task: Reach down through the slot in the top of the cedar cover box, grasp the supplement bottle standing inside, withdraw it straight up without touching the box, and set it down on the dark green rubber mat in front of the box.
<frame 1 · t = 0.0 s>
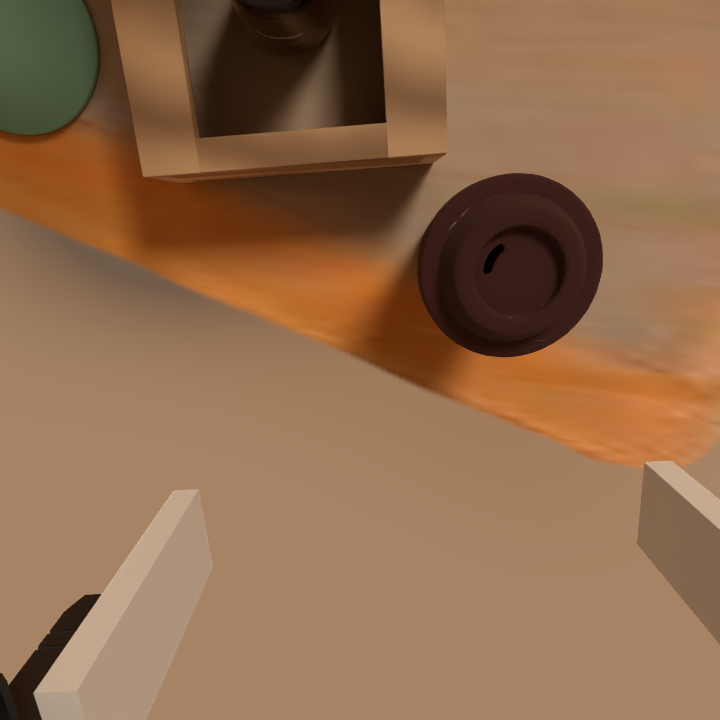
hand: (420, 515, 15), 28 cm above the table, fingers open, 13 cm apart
coffee cup: (464, 251, 40), on the table
cover box: (289, 4, 36), on the table
supplement bottle: (290, 5, 36), resting in cover box
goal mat: (16, 45, 37), on the table
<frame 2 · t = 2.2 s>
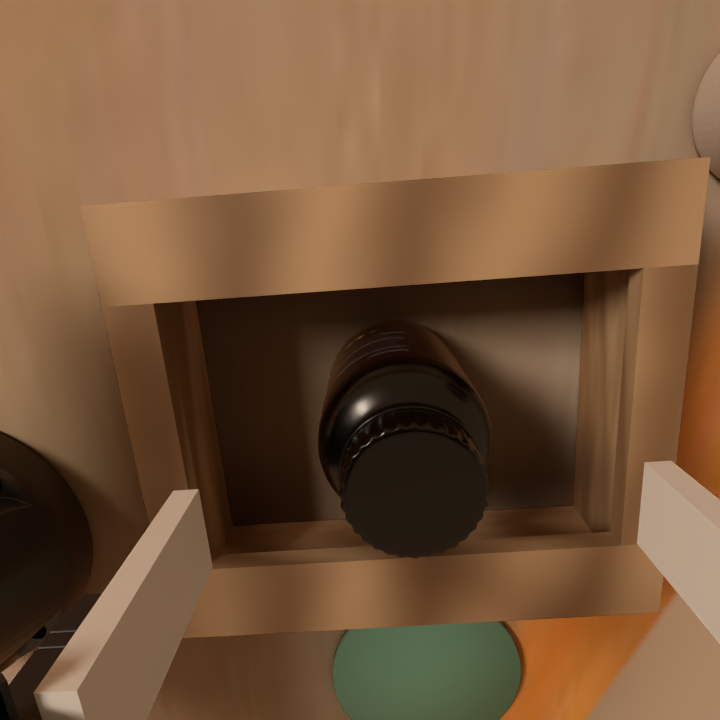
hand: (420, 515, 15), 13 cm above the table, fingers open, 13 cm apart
cover box: (393, 378, 27), on the table
supplement bottle: (393, 377, 28), resting in cover box
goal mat: (425, 669, 33), on the table
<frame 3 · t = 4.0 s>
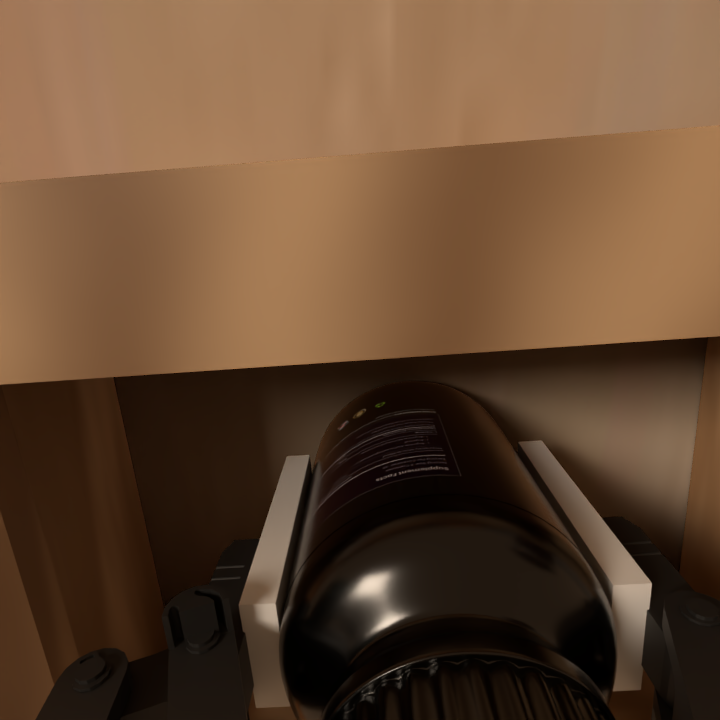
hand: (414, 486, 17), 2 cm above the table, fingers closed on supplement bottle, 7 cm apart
cover box: (410, 463, 18), on the table
supplement bottle: (409, 461, 18), resting in cover box, touching gripper
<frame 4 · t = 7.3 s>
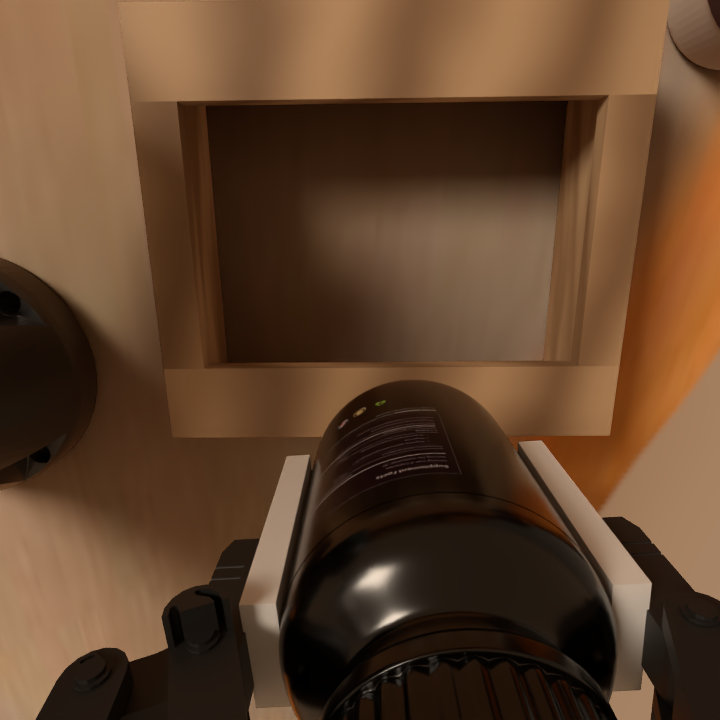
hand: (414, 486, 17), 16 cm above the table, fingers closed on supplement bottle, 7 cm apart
cover box: (385, 236, 30), on the table
supplement bottle: (409, 459, 18), point 14 cm above the table, touching gripper
when the fingers open (4 cm above the table, at t = 10.6 s): supplement bottle drops 1 cm, resting on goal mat.
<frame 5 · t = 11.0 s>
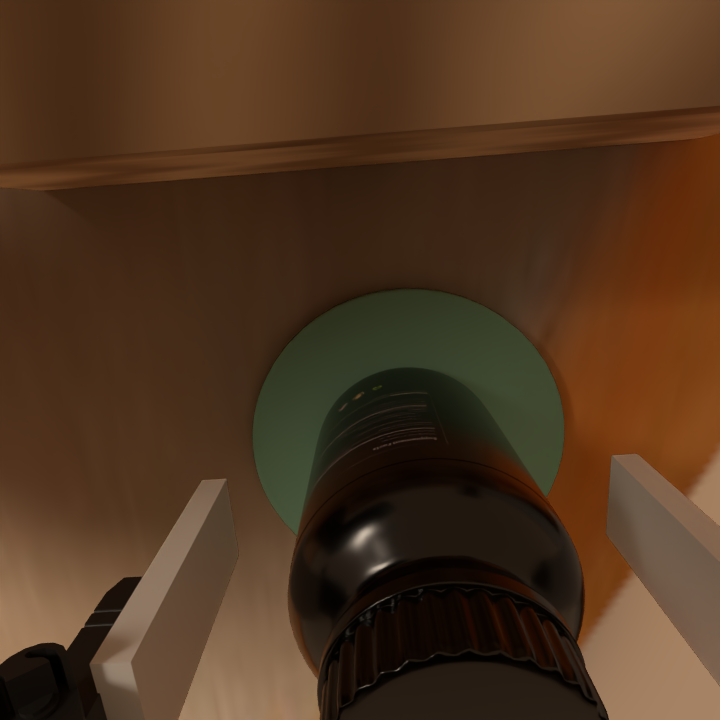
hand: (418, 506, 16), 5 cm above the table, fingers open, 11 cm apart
supplement bottle: (405, 442, 20), resting on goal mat
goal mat: (406, 439, 20), on the table
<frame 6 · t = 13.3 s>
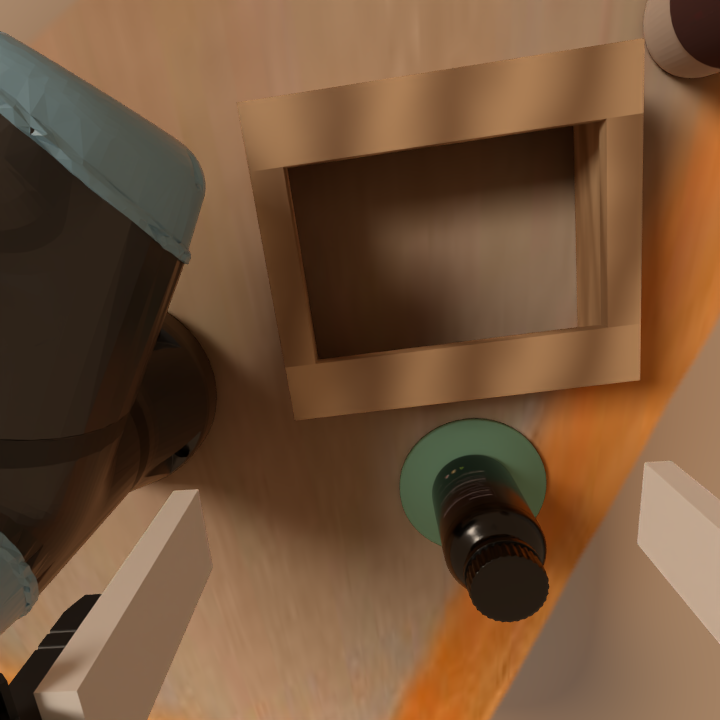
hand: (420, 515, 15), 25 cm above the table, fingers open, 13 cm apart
coffee cup: (695, 19, 33), on the table
cover box: (436, 244, 37), on the table
supplement bottle: (471, 487, 42), resting on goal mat
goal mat: (471, 484, 42), on the table
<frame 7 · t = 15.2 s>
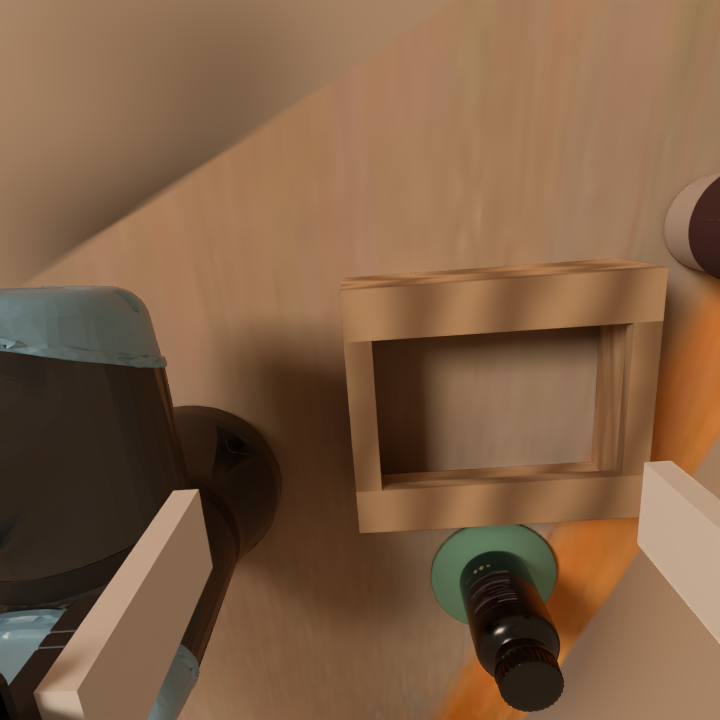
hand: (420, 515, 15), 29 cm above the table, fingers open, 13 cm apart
coffee cup: (705, 222, 40), on the table
cover box: (480, 380, 44), on the table
supplement bottle: (492, 576, 49), resting on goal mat
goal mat: (492, 573, 50), on the table
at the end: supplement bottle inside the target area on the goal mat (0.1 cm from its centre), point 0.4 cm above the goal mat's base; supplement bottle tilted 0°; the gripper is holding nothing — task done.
